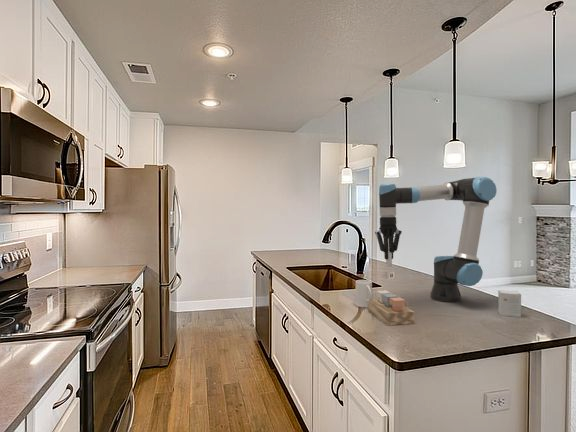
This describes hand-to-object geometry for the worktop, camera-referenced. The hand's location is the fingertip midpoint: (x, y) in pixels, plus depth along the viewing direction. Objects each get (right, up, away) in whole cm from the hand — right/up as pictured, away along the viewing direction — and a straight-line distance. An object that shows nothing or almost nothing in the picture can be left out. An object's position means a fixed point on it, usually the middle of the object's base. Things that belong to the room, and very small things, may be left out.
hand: (389, 266), depth 167 cm
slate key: (-2, -19, -10) cm, 21 cm away
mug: (-10, -21, +8) cm, 25 cm away
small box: (+53, -22, -6) cm, 58 cm away
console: (-2, -22, -9) cm, 24 cm away
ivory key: (-3, -19, -3) cm, 19 cm away
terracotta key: (-1, -19, -16) cm, 25 cm away
